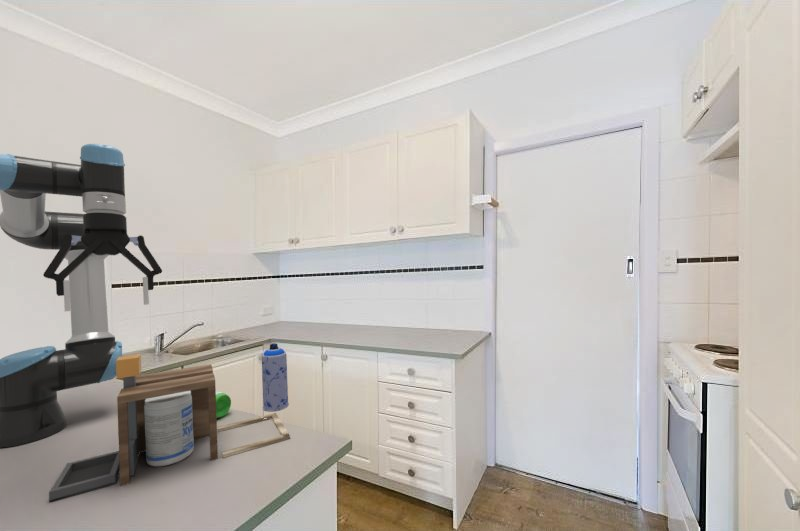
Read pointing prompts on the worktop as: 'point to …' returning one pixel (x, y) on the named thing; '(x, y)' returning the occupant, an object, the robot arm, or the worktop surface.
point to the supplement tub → (168, 428)
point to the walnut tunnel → (164, 384)
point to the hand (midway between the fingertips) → (109, 307)
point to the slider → (128, 371)
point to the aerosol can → (274, 379)
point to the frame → (262, 443)
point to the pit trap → (86, 476)
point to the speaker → (222, 404)
